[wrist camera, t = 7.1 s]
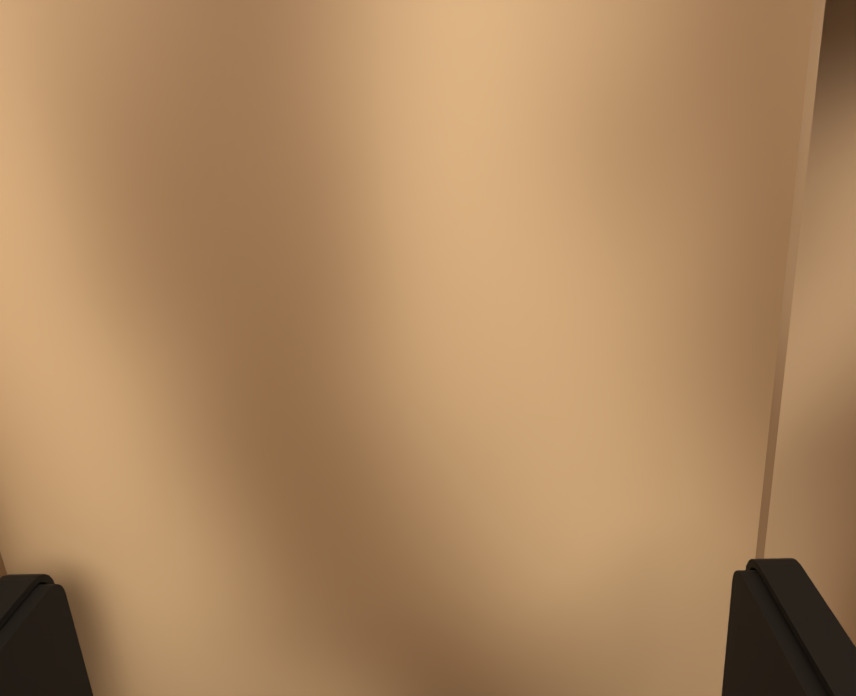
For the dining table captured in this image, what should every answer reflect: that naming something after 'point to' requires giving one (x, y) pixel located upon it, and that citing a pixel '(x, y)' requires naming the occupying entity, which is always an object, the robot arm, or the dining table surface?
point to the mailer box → (819, 334)
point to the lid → (393, 335)
